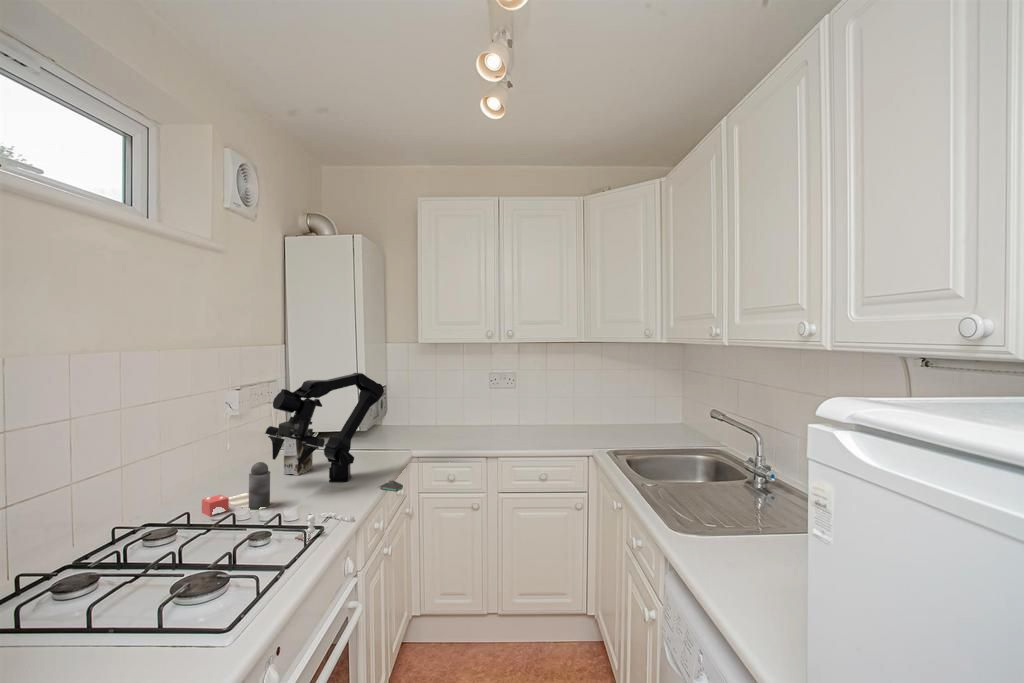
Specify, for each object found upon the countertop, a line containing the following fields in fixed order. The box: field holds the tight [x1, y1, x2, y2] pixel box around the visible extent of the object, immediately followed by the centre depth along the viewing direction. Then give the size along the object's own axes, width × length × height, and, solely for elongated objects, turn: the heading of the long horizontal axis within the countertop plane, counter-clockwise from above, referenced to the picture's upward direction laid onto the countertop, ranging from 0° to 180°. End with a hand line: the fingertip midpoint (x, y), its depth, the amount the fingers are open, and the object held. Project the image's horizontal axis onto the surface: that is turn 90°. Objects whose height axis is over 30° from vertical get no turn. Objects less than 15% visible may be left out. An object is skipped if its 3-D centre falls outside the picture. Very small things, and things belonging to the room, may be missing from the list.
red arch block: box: [201, 494, 230, 517], centre depth 134 cm, size 5×5×6 cm
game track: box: [228, 492, 277, 513], centre depth 142 cm, size 20×11×1 cm, turn 56°
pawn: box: [248, 461, 271, 511], centre depth 139 cm, size 6×6×13 cm
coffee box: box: [283, 428, 314, 476], centre depth 178 cm, size 9×6×16 cm
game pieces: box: [294, 479, 404, 542], centre depth 141 cm, size 45×13×6 cm, turn 160°
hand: (286, 462), depth 152 cm, fingers open, 9 cm apart
